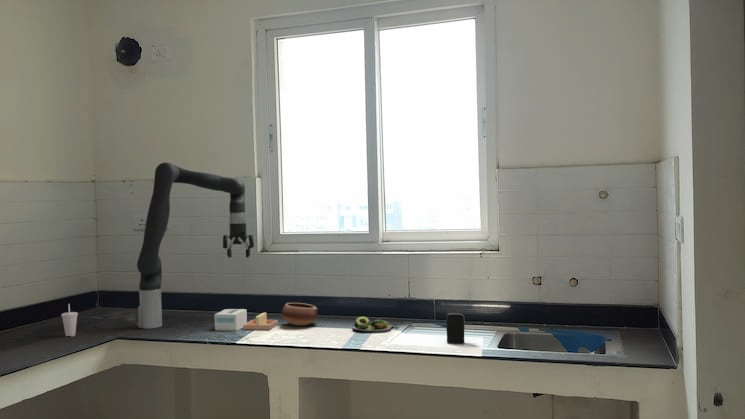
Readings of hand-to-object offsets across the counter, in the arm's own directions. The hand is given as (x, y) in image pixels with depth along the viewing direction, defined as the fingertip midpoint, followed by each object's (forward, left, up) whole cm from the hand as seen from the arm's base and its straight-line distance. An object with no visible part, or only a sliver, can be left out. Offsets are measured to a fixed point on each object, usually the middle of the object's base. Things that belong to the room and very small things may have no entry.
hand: (238, 257), depth 280 cm
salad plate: (+63, -9, -31) cm, 71 cm away
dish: (+14, -10, -30) cm, 34 cm away
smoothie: (-65, -31, -30) cm, 78 cm away
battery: (+100, -31, -30) cm, 109 cm away
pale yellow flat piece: (+14, -14, -27) cm, 33 cm away
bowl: (+30, -5, -30) cm, 43 cm away
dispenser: (0, -11, -30) cm, 32 cm away
